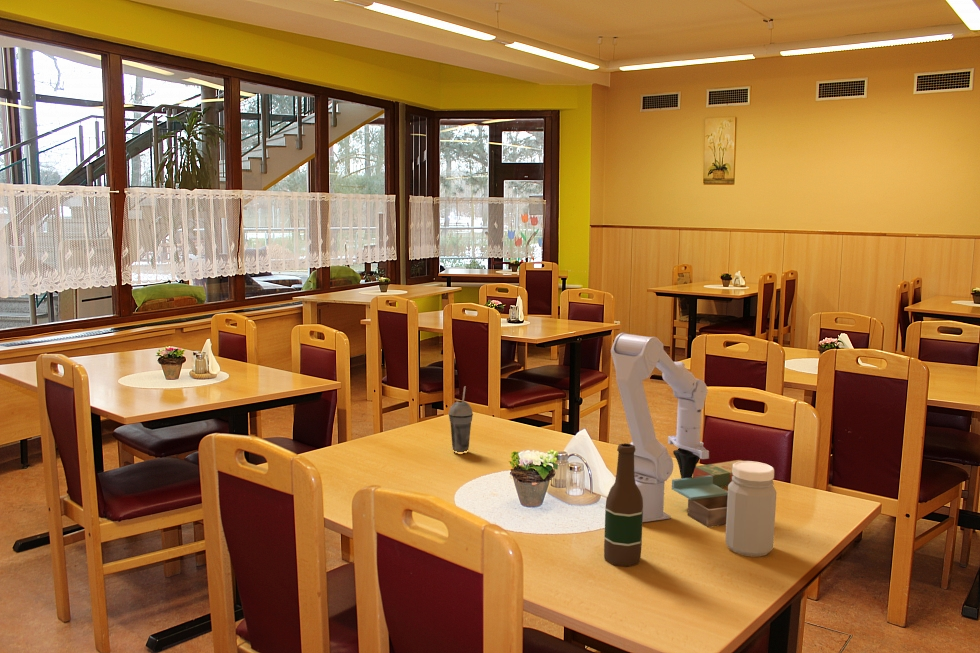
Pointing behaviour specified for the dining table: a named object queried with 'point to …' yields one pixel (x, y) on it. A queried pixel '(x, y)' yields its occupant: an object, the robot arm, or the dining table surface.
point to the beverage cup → (460, 424)
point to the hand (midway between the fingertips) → (686, 479)
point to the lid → (697, 487)
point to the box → (709, 510)
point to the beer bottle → (624, 513)
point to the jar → (751, 509)
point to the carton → (717, 472)
